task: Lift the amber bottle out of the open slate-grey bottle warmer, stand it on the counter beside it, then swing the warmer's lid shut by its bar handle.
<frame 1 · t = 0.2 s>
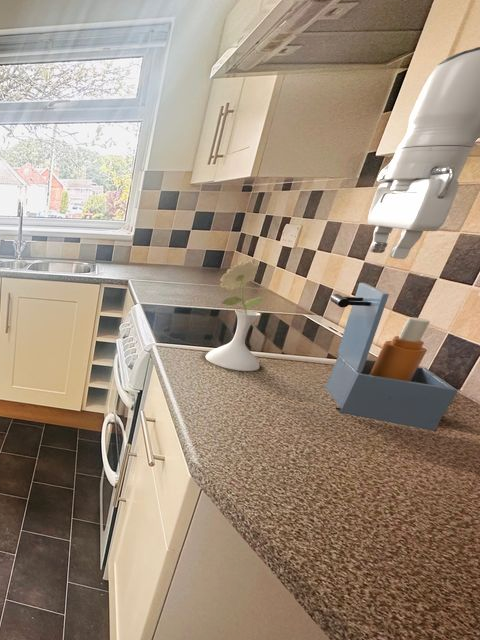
hand: (386, 255, 75), 29 cm above the countertop, tool pointing down, fingers open, 8 cm apart
flower in vase: (225, 368, 101), on the countertop
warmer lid: (345, 325, 79), point 16 cm above the countertop, hinge at 95.0°
bottle: (373, 408, 82), point 1 cm above the countertop, touching warmer
warmer: (372, 411, 82), on the countertop
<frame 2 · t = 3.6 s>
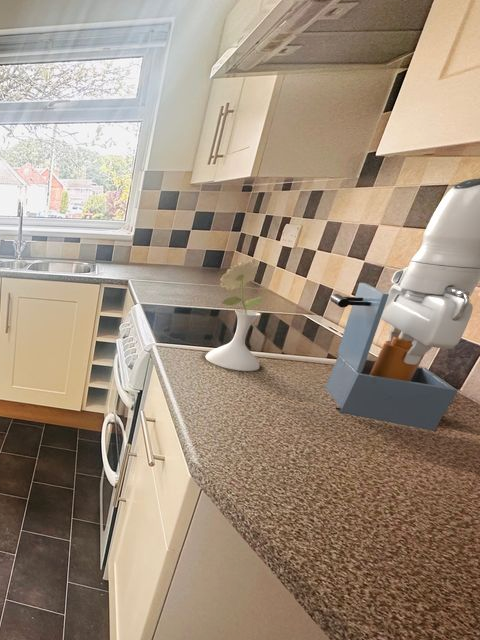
hand: (399, 356, 77), 12 cm above the countertop, tool pointing down, fingers closed on bottle, 5 cm apart
bottle: (373, 408, 82), point 1 cm above the countertop, touching gripper, warmer
everything else where it was.
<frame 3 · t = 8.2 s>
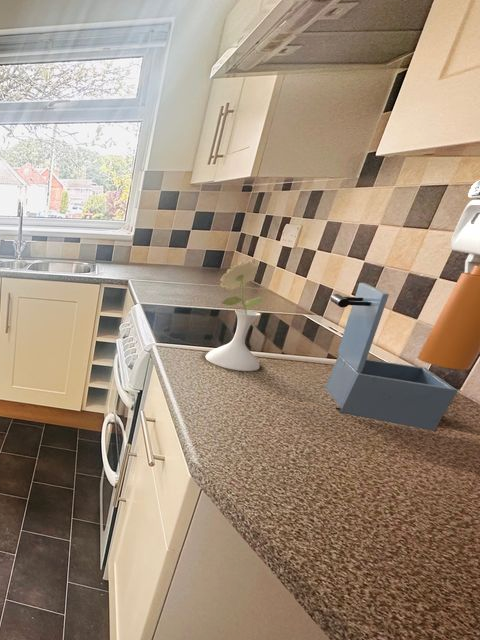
bottle: (442, 362, 63), point 15 cm above the countertop, touching gripper
everything else where it was.
when the fingers open (11 cm above the countertop, at t = 12.8 s): bottle stays where it is, on the countertop.
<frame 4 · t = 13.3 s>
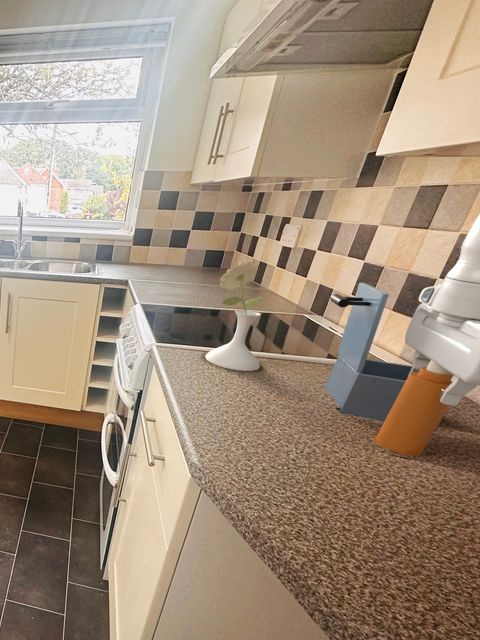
hand: (430, 390, 65), 11 cm above the countertop, tool pointing down, fingers open, 8 cm apart
bottle: (395, 449, 69), on the countertop
everything else where it was.
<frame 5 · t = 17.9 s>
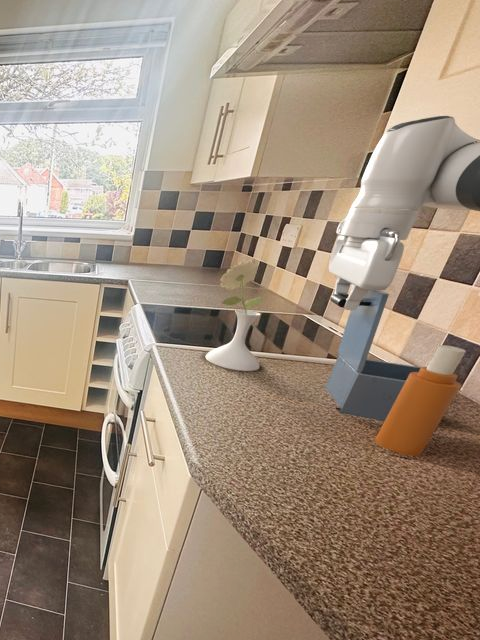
hand: (343, 305, 78), 20 cm above the countertop, tool pointing down, fingers closed on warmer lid, 5 cm apart
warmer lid: (345, 325, 79), point 16 cm above the countertop, hinge at 95.0°, touching gripper
everything else where it was.
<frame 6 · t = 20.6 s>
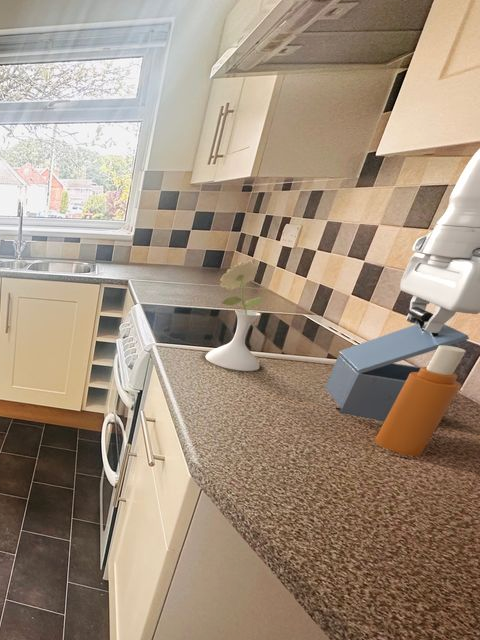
hand: (420, 326, 74), 18 cm above the countertop, tool pointing down, fingers closed on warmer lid, 5 cm apart
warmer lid: (391, 335, 76), point 15 cm above the countertop, hinge at 37.6°, touching gripper
everything else where it was.
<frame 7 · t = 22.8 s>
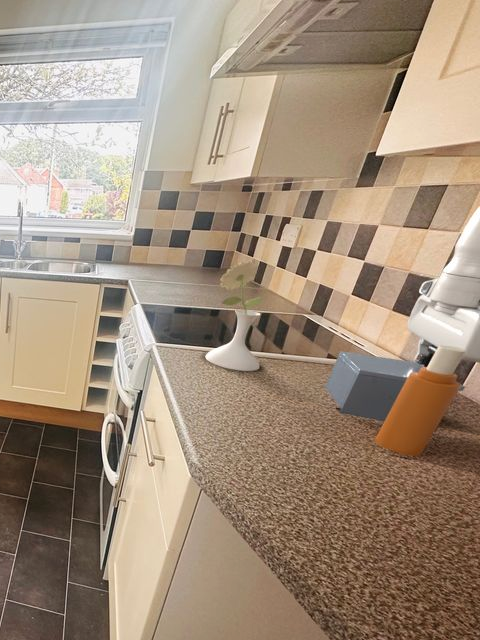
hand: (428, 369, 76), 10 cm above the countertop, tool pointing down, fingers closed on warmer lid, 5 cm apart
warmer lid: (401, 357, 77), point 12 cm above the countertop, hinge at -0.2°, touching gripper, warmer
everything else where it was.
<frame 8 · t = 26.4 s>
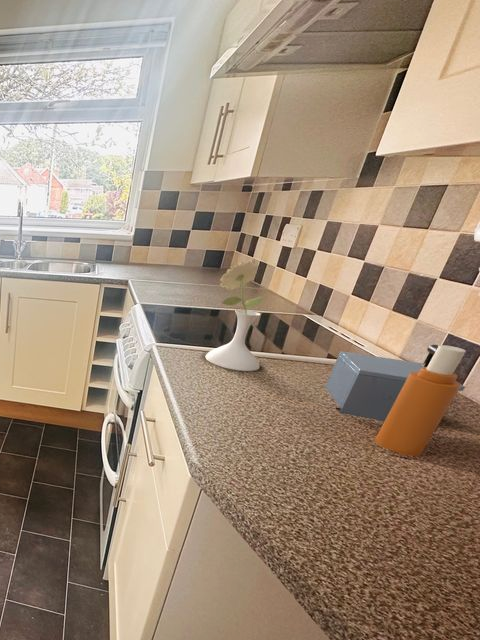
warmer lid: (401, 357, 77), point 12 cm above the countertop, hinge at -0.2°, touching warmer
everything else where it was.
at the end: bottle inside the target area (0.1 cm from its centre), on the countertop; bottle tilted 0°; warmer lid at +0° (first picture: +95°) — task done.
